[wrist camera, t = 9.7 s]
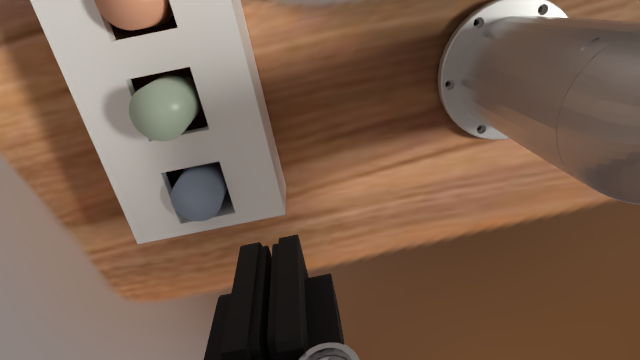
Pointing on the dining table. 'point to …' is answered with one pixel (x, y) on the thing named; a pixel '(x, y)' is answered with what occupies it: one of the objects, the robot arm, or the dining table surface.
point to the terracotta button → (135, 13)
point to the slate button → (199, 192)
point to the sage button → (165, 107)
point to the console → (191, 146)
